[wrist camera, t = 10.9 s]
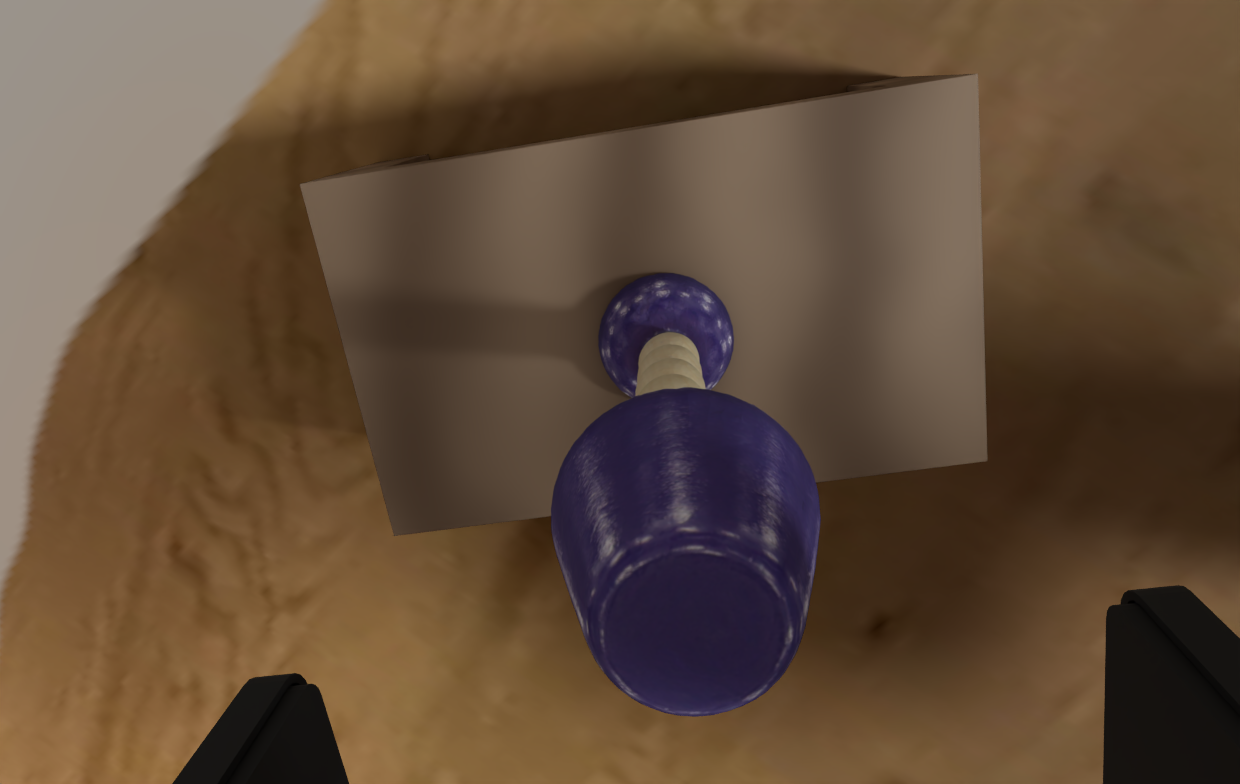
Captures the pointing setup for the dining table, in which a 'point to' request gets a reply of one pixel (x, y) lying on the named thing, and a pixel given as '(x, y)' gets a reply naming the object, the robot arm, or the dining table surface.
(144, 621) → the dining table surface
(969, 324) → the walnut shelf
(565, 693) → the dining table surface
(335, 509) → the dining table surface
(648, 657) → the toy lamp
